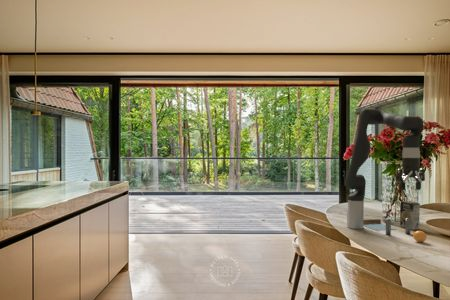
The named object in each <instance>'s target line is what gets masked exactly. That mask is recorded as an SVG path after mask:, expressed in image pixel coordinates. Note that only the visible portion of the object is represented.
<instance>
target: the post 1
mask: <svg viewBox="0 0 450 300" xmlns="http://www.w3.org/2000/svg"><path fill="white" fill-rule="evenodd" d="M385 226H386V230H385V236H392V234H391V232H392V230H391V228H392V219H390V218H385Z"/></svg>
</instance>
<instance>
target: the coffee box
mask: <svg viewBox="0 0 450 300" xmlns="http://www.w3.org/2000/svg"><path fill="white" fill-rule="evenodd" d="M399 208H400V209H399V210H400V211H399V212H400V214H399V215H400V216H399V219H400V220H399V221H400V223H399V227H400V226H402V228H404V227H405V224H406V218H410V219H411V230H413V231H414V230H420V216H421V215H420V211H421V209H420V208H421V203H418V202H413V201H408V200H405V201H403V200H402V201H400V206H399Z"/></svg>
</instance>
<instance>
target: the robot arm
mask: <svg viewBox="0 0 450 300" xmlns="http://www.w3.org/2000/svg"><path fill="white" fill-rule="evenodd" d="M358 116H359V117H358V125H357V132H356V138H355V142H354V145H353V149H352V150H353V151H352V155H351V159H350V163H349V168H348V170H347V173H346V177H345V181H344V182H345V183H344V185H345V187H346V188H347V189H348V190H354V192H352V193H350V194H348V195H347V213H346V214H347V215H346V226H347V227H348V228H350V229H353V230H361V229H362V230H363V229H364V226H363V225H364V224H363V223H364V216H365V214H364V211H365V203H364V201H365V196H366V177H365V176H364V175H362V174H358V172H359V169H360V168H361V167H362V166H363V165H364V163H365V162H366V161H367V160H368V158H369V156H370V152H371V149H372V146H371V142H370V140H369V137H368V126H369V125H370V126H371V125H372V126H373V125H382V124H383V125H386V126H388V127H389V128H395V129H399V130H400V131H409V134H408V135H406V136H405V135H404V136H403V138H402V153H401V157H402V158H401V159H402V160H401V165H402V168H397V169H396V178H395V179H396V182H399V185H400V186H399V188H400V190H401V191H406V181H407V180H409V179H410V178H413V179H414V181H415V190H417V191H420V190H421V189H422V182H425V181H426V175H425V173H426V172H425V171H426V170H425V168H420V165H421V163H420V162H421V160H420V159H421V151H420V138H421V136H422V133H423V129H424V120H423V119H422V118H421V117H420V116H409V115H407V116H405V115H403V114H397V113H388V112H385V111H382V110H379V109H377V108H363V109H362V110H361V111H360V113H359V115H358Z"/></svg>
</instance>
